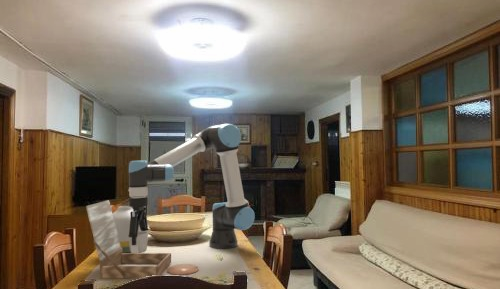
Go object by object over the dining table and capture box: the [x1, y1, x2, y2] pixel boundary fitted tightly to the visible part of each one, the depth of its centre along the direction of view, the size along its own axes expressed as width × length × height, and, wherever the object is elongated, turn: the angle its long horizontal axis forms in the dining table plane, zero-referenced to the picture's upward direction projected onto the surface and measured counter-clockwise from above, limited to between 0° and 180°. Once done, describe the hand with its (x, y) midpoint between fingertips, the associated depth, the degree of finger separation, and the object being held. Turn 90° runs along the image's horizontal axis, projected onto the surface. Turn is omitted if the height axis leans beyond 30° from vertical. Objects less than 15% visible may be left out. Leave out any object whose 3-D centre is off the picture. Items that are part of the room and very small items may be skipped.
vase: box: [112, 205, 141, 253], centre depth 182 cm, size 17×17×24 cm
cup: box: [128, 231, 149, 253], centre depth 160 cm, size 11×8×8 cm
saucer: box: [166, 263, 200, 276], centre depth 159 cm, size 13×13×1 cm
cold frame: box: [85, 199, 172, 279], centre depth 159 cm, size 29×23×28 cm
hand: (139, 249), depth 160 cm, fingers closed on cup, 11 cm apart
